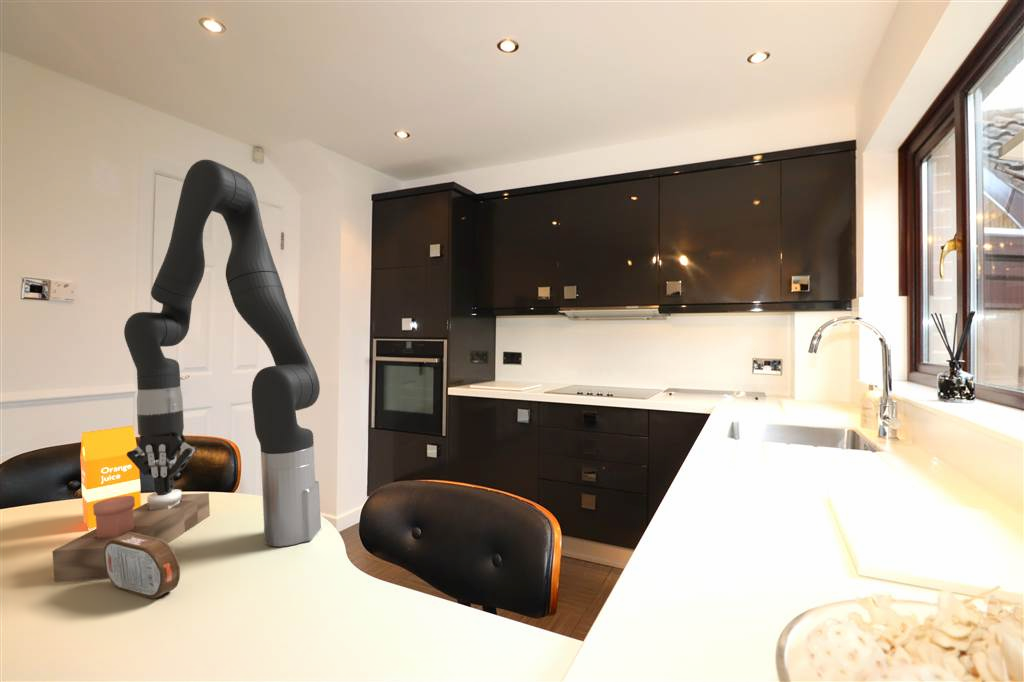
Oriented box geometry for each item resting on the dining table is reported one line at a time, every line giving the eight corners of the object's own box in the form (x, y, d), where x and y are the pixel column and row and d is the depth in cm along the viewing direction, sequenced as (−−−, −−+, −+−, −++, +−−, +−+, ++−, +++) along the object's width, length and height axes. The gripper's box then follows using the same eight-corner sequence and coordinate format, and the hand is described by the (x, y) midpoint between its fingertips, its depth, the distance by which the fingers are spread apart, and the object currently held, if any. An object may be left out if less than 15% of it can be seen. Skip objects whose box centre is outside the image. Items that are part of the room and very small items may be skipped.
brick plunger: (143, 530, 86) (142, 494, 86) (120, 543, 80) (118, 506, 80) (111, 531, 86) (110, 496, 85) (86, 545, 80) (84, 508, 80)
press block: (209, 515, 103) (208, 493, 103) (118, 576, 77) (117, 546, 77) (162, 518, 102) (161, 495, 102) (54, 581, 76) (52, 550, 76)
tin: (183, 594, 71) (180, 539, 71) (160, 606, 68) (158, 549, 68) (123, 578, 77) (121, 527, 77) (100, 587, 74) (98, 535, 74)
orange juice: (142, 517, 103) (137, 427, 103) (88, 531, 97) (83, 434, 96) (134, 509, 108) (130, 423, 108) (83, 522, 102) (78, 430, 101)
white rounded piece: (188, 519, 99) (187, 488, 99) (171, 530, 93) (169, 497, 93) (161, 520, 99) (159, 490, 99) (141, 531, 93) (140, 499, 93)
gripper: (205, 405, 100) (208, 486, 100) (140, 408, 99) (143, 489, 99) (182, 411, 92) (186, 498, 93) (112, 414, 91) (116, 502, 92)
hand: (164, 493), depth 96 cm, fingers closed
